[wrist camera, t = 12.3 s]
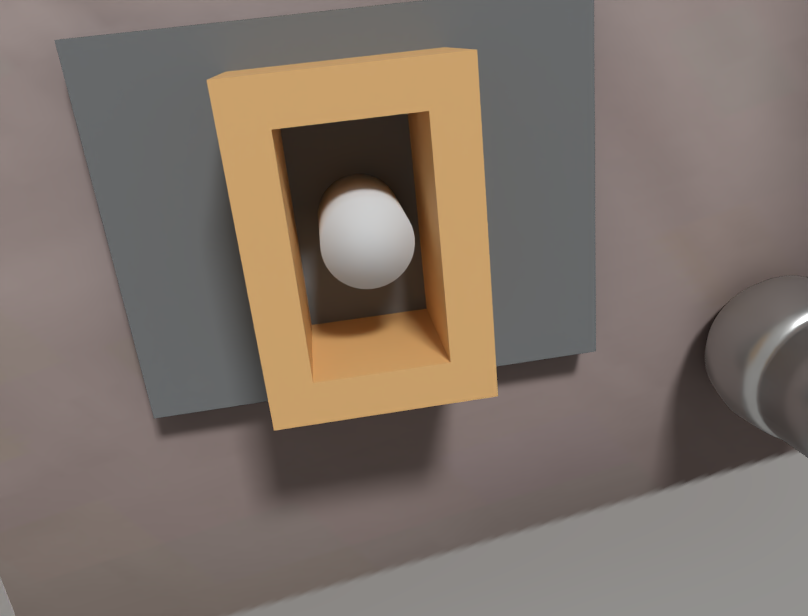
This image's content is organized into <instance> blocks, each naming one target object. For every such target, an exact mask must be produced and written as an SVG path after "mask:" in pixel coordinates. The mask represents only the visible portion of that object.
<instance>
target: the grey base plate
mask: <svg viewBox="0 0 808 616" xmlns="http://www.w3.org/2000/svg"><path fill="white" fill-rule="evenodd" d="M55 44H56V48H57V51H58V55H59V59H60V63H61V67H62V70H63V74H64V78H65V82H66V86H67V89H68V93H69V97H70V101H71V105H72V108H73V112H74V116H75V120H76V124H77V127H78V131H79V135H80V139H81V143H82V146H83V150H84V154H85V158H86V162H87V165H88V169H89V173H90V177H91V181H92V184H93V188H94V192H95V196H96V200H97V203H98V207H99V211H100V215H101V219H102V222H103V226H104V230H105V234H106V238H107V241H108V245H109V249H110V253H111V257H112V260H113V264H114V268H115V272H116V276H117V279H118V283H119V287H120V291H121V295H122V298H123V302H124V306H125V310H126V314H127V317H128V321H129V325H130V329H131V333H132V336H133V340H134V344H135V348H136V352H137V355H138V359H139V363H140V367H141V371H142V374H143V378H144V382H145V386H146V390H147V393H148V397H149V401H150V405H151V409H152V412H153V416H154V418H160V417H167V416H173V415H180V414H187V413H193V412H200V411H206V410H213V409H219V408H226V407H233V406H239V405H246V404H252V403H259V402H265V401H268V397H267V392H266V386H265V381H264V376H263V371H262V366H261V360H260V355H259V350H258V345H257V340H256V334H255V329H254V324H253V319H252V314H251V308H250V303H249V298H248V293H247V288H246V282H245V277H244V272H243V267H242V262H241V256H240V251H239V246H238V241H237V236H236V231H235V225H234V220H233V215H232V210H231V205H230V199H229V194H228V189H227V184H226V179H225V173H224V168H223V163H222V158H221V153H220V147H219V142H218V137H217V132H216V127H215V121H214V116H213V111H212V106H211V101H210V96H209V90H208V85H207V80H208V79H210V78H212V77H214V76H217V75H219V74H221V73H224V72H227V71H236V70H245V69H254V68H263V67H272V66H281V65H290V64H299V63H308V62H317V61H326V60H335V59H344V58H353V57H362V56H371V55H380V54H389V53H398V52H407V51H415V50H424V49H433V48H442V47H449V48H462V49H476V50H477V55H478V71H479V88H480V105H481V121H482V138H483V155H484V171H485V188H486V205H487V222H488V238H489V255H490V272H491V288H492V305H493V322H494V338H495V355H496V366H502V365H509V364H515V363H522V362H529V361H535V360H542V359H548V358H555V357H561V356H568V355H575V354H581V353H588V352H594V351H596V283H595V100H594V0H422V1H413V2H404V3H394V4H385V5H376V6H367V7H357V8H348V9H339V10H329V11H320V12H311V13H302V14H292V15H283V16H274V17H264V18H255V19H246V20H237V21H227V22H218V23H209V24H199V25H190V26H181V27H171V28H162V29H153V30H144V31H134V32H125V33H116V34H106V35H97V36H88V37H79V38H69V39H60V40H55ZM280 131H281V137H282V143H283V150H284V156H285V162H286V168H287V174H288V181H289V187H290V193H291V199H292V206H293V212H294V218H295V224H296V231H297V237H298V243H299V249H300V255H301V262H302V268H303V274H304V280H305V287H306V293H307V299H308V305H309V311H310V318H311V324H312V325H315V324H322V323H329V322H336V321H343V320H350V319H358V318H365V317H372V316H379V315H386V314H393V313H400V312H407V311H414V310H421V309H426V298H425V288H424V277H423V267H422V257H421V246H420V236H419V225H418V215H417V205H416V194H415V184H414V173H413V163H412V153H411V142H410V132H409V121H408V113H407V114H399V115H390V116H382V117H373V118H365V119H356V120H348V121H340V122H331V123H323V124H314V125H306V126H298V127H289V128H281V129H280Z"/></svg>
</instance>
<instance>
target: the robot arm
mask: <svg viewBox="0 0 808 616" xmlns="http://www.w3.org/2000/svg"><path fill="white" fill-rule="evenodd" d="M0 616H15V613H14V611H13V608H12V606H11V603H10V601H9V598H8V596H7V593H6V590H5V588H4V585H3V583H2V580H1V578H0Z"/></svg>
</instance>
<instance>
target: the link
mask: <svg viewBox="0 0 808 616" xmlns="http://www.w3.org/2000/svg"><path fill="white" fill-rule="evenodd" d="M207 85H208V90H209V96H210V101H211V106H212V111H213V116H214V121H215V127H216V132H217V137H218V142H219V147H220V153H221V158H222V163H223V168H224V173H225V179H226V184H227V189H228V194H229V199H230V205H231V210H232V215H233V220H234V225H235V231H236V236H237V241H238V246H239V251H240V256H241V262H242V267H243V272H244V277H245V282H246V288H247V293H248V298H249V303H250V308H251V314H252V319H253V324H254V329H255V334H256V340H257V345H258V350H259V355H260V360H261V366H262V371H263V376H264V381H265V386H266V392H267V397H268V402H269V407H270V412H271V417H272V423H273V428H274V431H275V430H281V429H288V428H294V427H301V426H307V425H314V424H320V423H327V422H333V421H340V420H346V419H353V418H359V417H366V416H372V415H379V414H385V413H392V412H398V411H405V410H411V409H418V408H424V407H431V406H437V405H444V404H450V403H457V402H463V401H470V400H476V399H483V398H489V397H496V396H498V388H497V372H496V355H495V338H494V322H493V305H492V288H491V272H490V255H489V238H488V222H487V205H486V188H485V171H484V155H483V138H482V121H481V105H480V88H479V71H478V55H477V50H476V49H462V48H449V47H442V48H433V49H424V50H415V51H407V52H398V53H389V54H380V55H371V56H362V57H353V58H344V59H335V60H326V61H317V62H308V63H299V64H290V65H281V66H272V67H263V68H254V69H245V70H236V71H227V72H224V73H221V74H219V75H217V76H214V77H212V78H210V79H208V80H207ZM407 113H408V121H409V132H410V142H411V153H412V163H413V173H414V184H415V194H416V205H417V215H418V225H419V236H420V246H421V257H422V267H423V277H424V288H425V298H426V309H421V310H414V311H407V312H400V313H393V314H386V315H379V316H372V317H365V318H358V319H350V320H343V321H336V322H329V323H322V324H315V325H312V324H311V318H310V311H309V305H308V299H307V293H306V287H305V280H304V274H303V268H302V262H301V255H300V249H299V243H298V237H297V231H296V224H295V218H294V212H293V206H292V199H291V193H290V187H289V181H288V174H287V168H286V162H285V156H284V150H283V143H282V137H281V131H280V129H281V128H289V127H298V126H306V125H314V124H323V123H331V122H340V121H348V120H356V119H365V118H373V117H382V116H390V115H399V114H407Z"/></svg>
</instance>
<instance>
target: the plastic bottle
mask: <svg viewBox="0 0 808 616" xmlns="http://www.w3.org/2000/svg"><path fill="white" fill-rule="evenodd" d="M705 367H706V372H707V375H708V377H709V379H710V381H711V384H712V385H713V387H714V388H715V390H716V391H717V392H718V394H719V395H720V397H721V398H722V400H723V401H724V402H725V404H726V405H727V406H728V407H729V408H730V410H731V411H733V412H734V413H735V414H737V415H738V416H740V417H741V418H743V419H744V420H746V421H747V422H749V423H751V424H752V425H754V426H755V427H757V428H759V429H760V430H762V431H764V432H766V433H768V434H770V435H772V436H774V437H777V438H779V439H782V440H783V441H785V442H786V443H788V444H789V445H791V446H792V447H793V448H795V449H796V450H798V451H799V452H801V453H802V454H803V455H805V456H806V457H808V277H803V276H781V277H776V278H771V279H768V280H766V281H763V282H760V283H758V284H755V285H753V286H751V287H749V288H747V289H745V290H744V291H742V292H740V293H739V294H737V295H736V296H735V297H734V298H732V299H731V300H730V301H729V302H728V303H727V304H726V305H725V306H724V307H723V308H722V310H721V311H720V312H719V314H718V315H717V317H716V318H715V320H714V321H713V324H712V326H711V328H710V331H709V334H708V338H707V342H706V348H705Z"/></svg>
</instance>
